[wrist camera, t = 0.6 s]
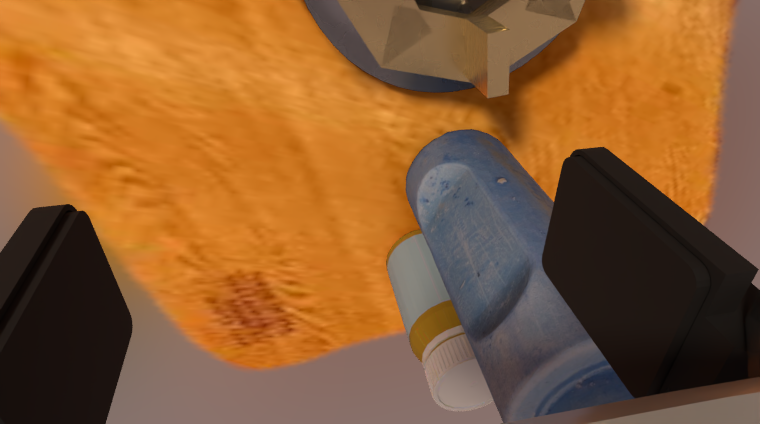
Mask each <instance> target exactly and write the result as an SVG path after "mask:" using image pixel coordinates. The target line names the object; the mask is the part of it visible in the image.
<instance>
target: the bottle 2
mask: <svg viewBox="0 0 760 424" xmlns="http://www.w3.org/2000/svg"><path fill="white" fill-rule="evenodd" d="M406 193H407V198H408V201H409V203H410V206H411V208H412V210H413V212H414V215H415V217H416V220H417V222H418V224H419V226H420V229H421V231H422V233H423V235H424V238H425V240H426V243H427V245H428V247H429V249H430V251H431V254H432V256H433V259H434V261H435V264H436V267H437V269H438V271H439V273H440V276H441V278H442V280H443V283H444V285H445V288H446V290H447V292H448V295H449V297H450V299H451V301H452V304H453V306H454V309H455V311H456V313H457V315H458V318H459V320H460V322H461V325H462V327H463V329H464V332H465V334H466V336H467V339H468V341H469V343H470V345H471V348H472V350H473V352H474V355H475V357H476V360H477V362H478V364H479V367H480V369H481V371H482V374H483V376H484V378H485V381H486V383H487V385H488V388H489V390H490V393H491V395H492V397H493V400H494V402H495V404H496V407H497V409H498V411H499V413H500V416H501V418H502V421H503V423H507V422H513V421H518V420H523V419H528V418H534V417H539V416H544V415H550V414H555V413H560V412H566V411H571V410H576V409H582V408H587V407H592V406H598V405H603V404H608V403H614V402H619V401H624V400H630V399H635V398H634V397H633V396H632V395H631V394H630V392H629V391H628V390H627V388H626V387H625V385H624V384H623V383H622V381H621V380H620V378H619V377H618V375H617V374H616V373H615V371H614V370H613V368H612V367H611V366H610V364H609V363H608V361H607V360H606V359H605V357H604V356H603V354H602V353H601V351H600V350H599V349H598V347H597V346H596V344H595V343H594V342H593V340H592V339H591V337H590V336H589V334H588V333H587V332H586V330H585V329H584V327H583V326H582V325H581V323H580V322H579V320H578V319H577V318H576V316H575V315H574V313H573V312H572V310H571V309H570V308H569V306H568V305H567V303H566V302H565V301H564V299H563V298H562V296H561V295H560V293H559V292H558V291H557V289H556V288H555V286H554V285H553V284H552V282H551V281H550V279H549V278H548V277H547V275H546V274H545V272H544V269H543V266H542V254H543V250H544V245H545V241H546V236H547V232H548V227H549V223H550V219H551V214H552V210H553V205H554V202H553V201H552V200H551V199H550V198H549V197H548V195H547V194H546V193H545V192H544V191H543V190H542V189H541V188H540V186H539V185H538V184H537V183H536V182H535V181H534V179H533V178H532V177H531V176H530V175H529V174H528V173H527V171H525V169H524V168H523V167H522V166H521V165H520V163H519V162H518V161H517V160H516V159H515V158H514V157H513V155H512V154H511V153H510V152H509V151H508V149H507V148H506V147H505V146H504V145H503V144H502V143H501V142H500V141H499V140H498V139H496V138H494V137H493V136H491V135H489V134H487V133H484V132H481V131H478V130H472V129H471V130H458V131H452V132H447V133H445V134H444V135H442V136H441V137H439V138H436V139H434V140H433V141H431V142H430V143H429V144H428V145H426V146H425V147H424V148H423V149H422V150H421V151H420V152H419V154H418V155H417V156H416V158H415V159H414V161H413V162H412V164H411V166H410V168H409V171H408V173H407V177H406Z"/></svg>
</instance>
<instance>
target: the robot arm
mask: <svg viewBox="0 0 760 424" xmlns="http://www.w3.org/2000/svg"><path fill="white" fill-rule="evenodd" d="M542 266H543V269H544V272H545V274H546V275H547V277H548V278H549V279H550V281H551V282H552V284H553V285H554V286H555V288H556V289H557V291H558V292H559V293H560V295H561V296H562V298H563V299H564V301H565V302H566V303H567V305H568V306H569V308H570V309H571V310H572V312H573V313H574V315H575V316H576V318H577V319H578V320H579V322H580V323H581V325H582V326H583V327H584V329H585V330H586V332H587V333H588V334H589V336H590V337H591V339H592V340H593V342H594V343H595V344H596V346H597V347H598V349H599V350H600V351H601V353H602V354H603V356H604V357H605V359H606V360H607V361H608V363H609V364H610V366H611V367H612V368H613V370H614V371H615V373H616V374H617V375H618V377H619V378H620V380H621V381H622V383H623V384H624V385H625V387H626V388H627V390H628V391H629V392H630V394H631V395H632V396H633V397H634V398H635V399H630V400H624V401H619V402H614V403H608V404H603V405H598V406H592V407H587V408H582V409H576V410H571V411H566V412H560V413H555V414H550V415H544V416H539V417H534V418H528V419H523V420H518V421H513V422H507V423H502V424H760V290H759V289H758V288H757V287H755V286H754V285H753V284H752V283H751V282H752V280H753V279H754V277H755V275H756V273H757V271H758V269H757V268H756V267H755V266H754V265H752V264H751V263H750V262H749V261H747V260H746V259H745V258H744V257H742V256H741V255H740V254H738V253H737V252H736V251H735V250H734V249H732V248H731V247H730V246H728V245H727V244H726V243H725V242H723V241H722V240H721V239H720V238H718V237H717V236H716V235H715V234H713V233H712V232H711V231H709V230H708V229H707V228H706V227H705V226H703V225H702V224H701V223H700V222H698V221H697V220H696V219H695V218H693V217H692V216H691V215H690V214H688V213H687V212H686V211H685V210H683V209H682V208H681V207H679V206H678V205H677V204H676V203H674V202H673V201H672V200H671V199H669V198H668V197H667V196H666V195H664V194H663V193H662V192H661V191H659V190H658V189H657V188H656V187H654V186H653V185H652V184H651V183H649V182H648V181H647V180H645V179H644V178H643V177H642V176H640V175H639V174H638V173H637V172H635V171H634V170H633V169H632V168H630V167H629V166H628V165H627V164H625V163H624V162H623V161H622V160H620V159H619V158H618V157H617V156H615V155H614V154H613V153H611V152H610V151H609V150H608V149H606V148H604V147H597V148H587V149H578V150H575V151H573V153H572V154H571V155H570V157H568V158H566V159H565V160H564V162H563V165H562V169H561V174H560V178H559V183H558V187H557V192H556V196H555V201H554V205H553V210H552V214H551V219H550V223H549V227H548V232H547V236H546V241H545V245H544V250H543V254H542ZM131 334H132V318H131V315H130V312H129V310H128V308H127V305H126V303H125V301H124V298H123V296H122V293H121V291H120V289H119V287H118V284H117V282H116V279H115V277H114V275H113V272H112V270H111V268H110V265H109V263H108V261H107V258H106V256H105V253H104V251H103V249H102V246H101V244H100V242H99V239H98V237H97V235H96V232H95V230H94V228H93V225H92V223H91V221H90V218H89V216H88V215H87V213H86V212H84V211H77V210H76V209H75V208H74V207H73V206H72V205H70V204H66V205H57V206H48V207H39V208H33V209H32V210H31V211H30V212H29V213H28V214H27V216H26V217H25V219H24V220H23V221H22V223H21V224H20V226H19V227H18V229H17V230H16V232H15V233H14V234H13V236H12V237H11V239H10V240H9V241H8V243H7V244H6V246H5V247H4V248H3V250H2V251H1V253H0V424H106V420H107V417H108V413H109V410H110V406H111V403H112V399H113V396H114V393H115V389H116V386H117V382H118V379H119V376H120V372H121V369H122V365H123V362H124V359H125V355H126V352H127V348H128V345H129V341H130V338H131Z"/></svg>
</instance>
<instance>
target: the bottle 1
mask: <svg viewBox="0 0 760 424" xmlns="http://www.w3.org/2000/svg"><path fill="white" fill-rule="evenodd" d="M386 265H387V270H388V274H389V278H390V281H391V284H392V287H393V291H394V294H395V297H396V300H397V304H398V307H399V310H400V313H401V316H402V320H403V323H404V326H405V329H406V333H407V336H408V339H409V342H410V345H411V348H412V351H413V353H414V354H415V355H416V357H417V358H418V359H419V360H420V361H421V362H422V364H423V367H424V370H425V374H426V378H427V381H428V384H429V387H430V390H431V394H432V396H433V399H434V400H435V401H436V403H437V404H438V405H439V406H440V407H442V408H444V409H447V410H451V411H468V410H473V409H477V408H480V407H483V406H485V405H488V404H490V403H492V402H493V401H494V400H493V397H492V395H491V393H490V390H489V388H488V385H487V383H486V381H485V378H484V376H483V374H482V371H481V369H480V367H479V364H478V362H477V360H476V357H475V355H474V352H473V350H472V348H471V345H470V343H469V341H468V339H467V336H466V334H465V332H464V329H463V327H462V325H461V322H460V320H459V318H458V315H457V313H456V311H455V309H454V306H453V304H452V301H451V299H450V297H449V295H448V292H447V290H446V288H445V285H444V283H443V280H442V278H441V276H440V273H439V271H438V269H437V267H436V264H435V261H434V259H433V256H432V254H431V251H430V249H429V247H428V245H427V243H426V240H425V238H424V235H423V233H422V231H421V229H420V230H416V231H412V232H410V233H408V234H406V235H404V236H403V237H401V238H400V239H399V240H398V241H397V242H396V243H395V244H394V245H393V246H392V248H391V249H390V251H389V253H388V256H387V260H386Z"/></svg>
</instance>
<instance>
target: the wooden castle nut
mask: <svg viewBox="0 0 760 424" xmlns="http://www.w3.org/2000/svg"><path fill="white" fill-rule="evenodd" d="M337 1H338V2H339V4H340V5H341V7H342V8H343V10H344V12H345V13H346V15H347V16H348V18H349V19H350V21H351V22H352V24H353V25H354V27H355V28H356V30H357V32H358V33H359V35H360V36H361V38H362V39H363V41H364V42H365V44H366V45H367V47H368V48H369V50H370V52H371V53H372V55H373V56H374V58H375V59H376V61H377V62H378V64H379V65H380V67H381V68H385V69H391V70H397V71H403V72H410V73H416V74H422V75H428V76H434V77H440V78H446V79H452V80H458V81H464V82H470V83H472V84H473V85H474V86H475V87H476V88H477V89H478V90H479V91H480V92H481V93H482V94H484V95H485V96H486V97H487V98H492V97H497V96H502V95H507V94H509V66H510V65H512V64H513V63H515V62H516V61H518V60H519V59H521V58H522V57H524V56H525V55H527V54H528V53H530V52H531V51H533V50H534V49H536V48H537V47H539V46H540V45H542V44H543V43H545V42H546V41H548V40H549V39H551V38H552V37H554V36H555V35H557V34H558V33H560V32H561V31H563V30H564V29H566V28H567V27H569V26H570V25H572V24H573V23H575V22H576V21H577V19H578V16H579V14H580V12H581V9H582V7H583V4H584V2H585V0H488V1H486V2H485V3H483V4H482V5H480V6H479V7H478V8H476V9H475V10H473V11H472V12H470V13H469V14H463V13H458V12H453V11H449V10H444V9H439V8H434V7H429V6H425V5H420V4H416V2H415V0H337Z"/></svg>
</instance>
